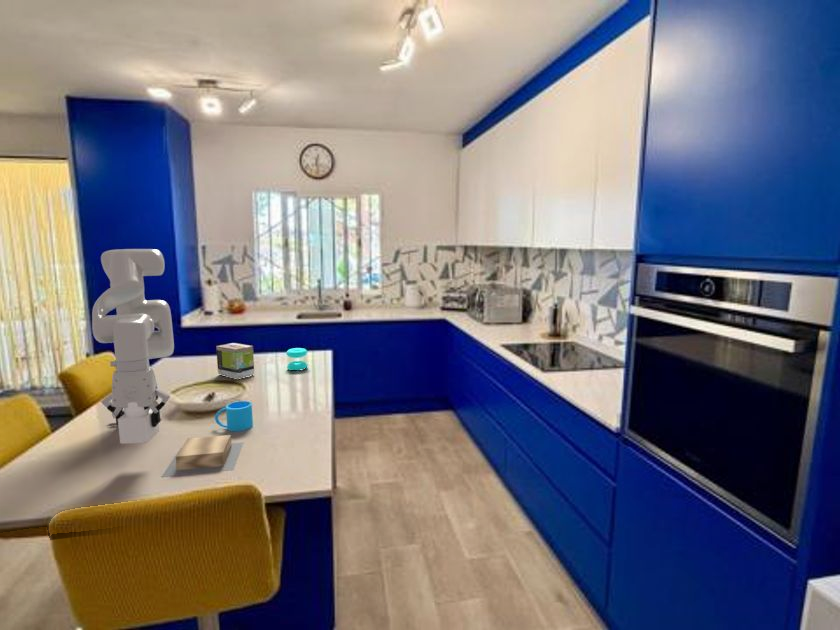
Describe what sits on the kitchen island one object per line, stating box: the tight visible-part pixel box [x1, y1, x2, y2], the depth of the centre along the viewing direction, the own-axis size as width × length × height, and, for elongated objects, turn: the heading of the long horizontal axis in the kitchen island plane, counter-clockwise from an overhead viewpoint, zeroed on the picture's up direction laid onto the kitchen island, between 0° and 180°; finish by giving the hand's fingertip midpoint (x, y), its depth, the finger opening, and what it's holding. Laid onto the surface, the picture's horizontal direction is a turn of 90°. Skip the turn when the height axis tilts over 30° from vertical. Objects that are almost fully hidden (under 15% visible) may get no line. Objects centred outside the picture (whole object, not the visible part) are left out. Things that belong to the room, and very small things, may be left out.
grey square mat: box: [161, 442, 244, 478], centre depth 131 cm, size 18×18×1 cm
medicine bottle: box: [117, 402, 160, 444], centre depth 125 cm, size 7×7×12 cm
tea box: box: [215, 342, 255, 379], centre depth 215 cm, size 15×10×15 cm, turn 58°
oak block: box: [175, 434, 232, 470], centre depth 130 cm, size 12×12×4 cm
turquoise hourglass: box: [285, 347, 309, 371], centre depth 227 cm, size 10×10×10 cm
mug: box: [214, 400, 254, 432], centre depth 153 cm, size 12×8×8 cm
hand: (139, 425), depth 125 cm, fingers closed on medicine bottle, 7 cm apart
